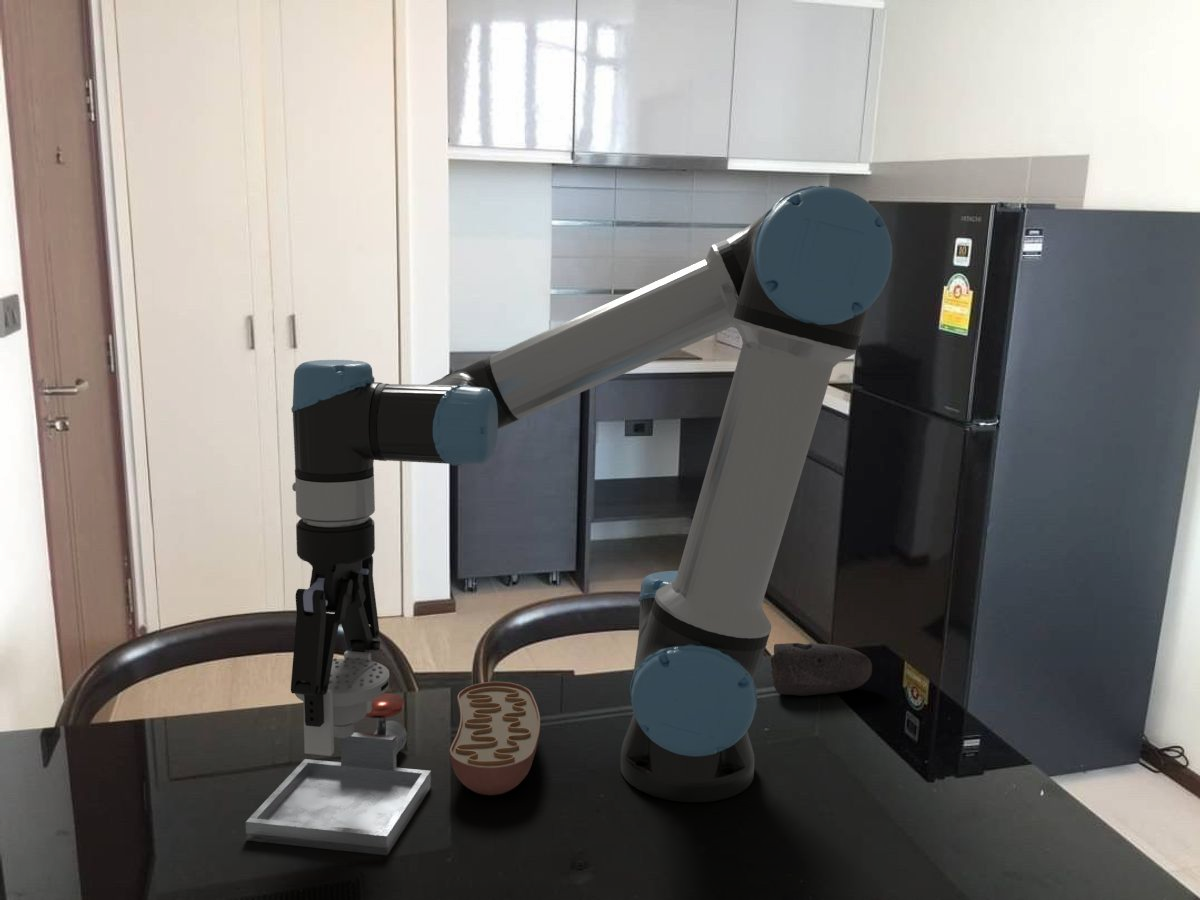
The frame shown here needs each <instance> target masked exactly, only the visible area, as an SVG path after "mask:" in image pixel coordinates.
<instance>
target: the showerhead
mask: <svg viewBox="0 0 1200 900" xmlns="http://www.w3.org/2000/svg"><path fill="white" fill-rule="evenodd" d="M389 687H390V671H389V668H387V667H386V666H385V665H383V664H381V663H380V662H376V661H373V660H371V661H370V660H363V659H360V658H357V659H348V657H347V658H345V659H344V658H338V659H337V658H336V657H335V658H334V657H333V662H332V668H331V674H330V679H329V685H328V689H331V690H333V729H334V738H338V739H341V738H346V737H350V736H352V735H353V734H354V732H355V724H356V723H357V722H360V721H361V720H362V719H364V718H365V717H366V714H367V702H368V701H370V700H373V699H375V698H377V697H379V696H381V695H382V694H384V693H387V691H388V690H389ZM294 696H295V697H297V699H298V700H300V701H302V702H303V694H294Z"/></svg>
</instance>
